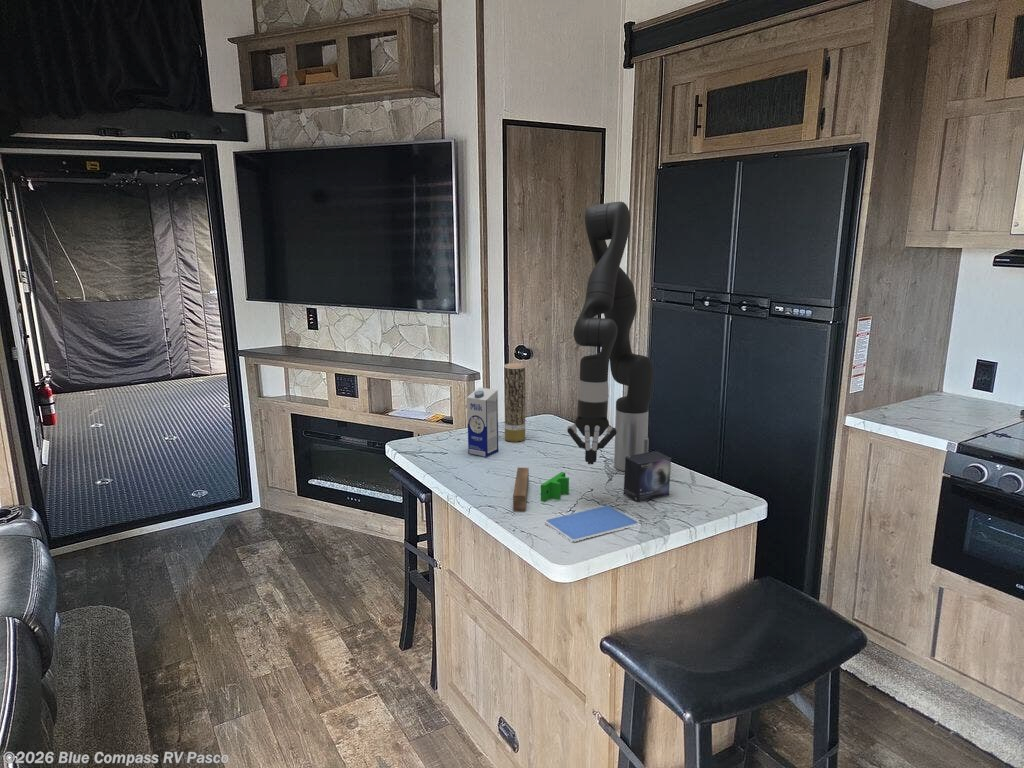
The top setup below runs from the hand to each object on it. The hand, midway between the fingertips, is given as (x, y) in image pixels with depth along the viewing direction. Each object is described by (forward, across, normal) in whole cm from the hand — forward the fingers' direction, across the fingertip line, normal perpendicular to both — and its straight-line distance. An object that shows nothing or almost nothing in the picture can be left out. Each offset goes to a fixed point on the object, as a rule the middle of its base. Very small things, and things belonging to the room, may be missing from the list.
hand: (590, 463), depth 173 cm
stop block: (+9, +18, 0) cm, 20 cm away
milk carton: (+9, +32, -33) cm, 47 cm away
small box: (+9, -15, -2) cm, 18 cm away
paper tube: (+9, +23, -48) cm, 54 cm away
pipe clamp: (+10, +8, -1) cm, 13 cm away
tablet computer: (+10, 0, +17) cm, 19 cm away
